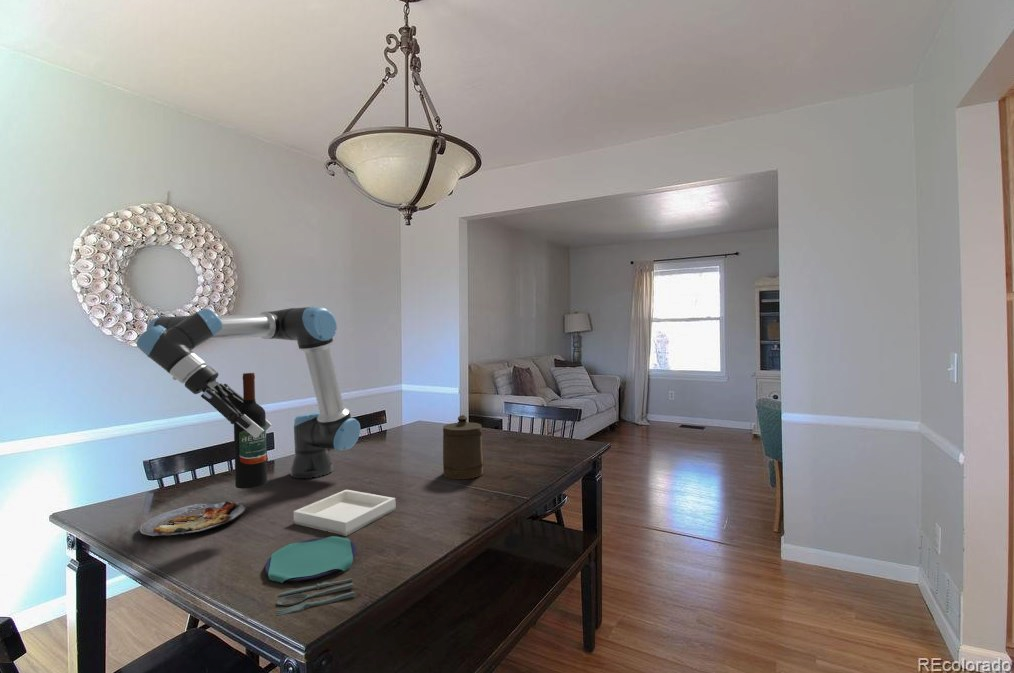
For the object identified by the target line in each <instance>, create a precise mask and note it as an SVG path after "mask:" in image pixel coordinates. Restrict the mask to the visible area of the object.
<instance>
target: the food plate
mask: <svg viewBox="0 0 1014 673" xmlns="http://www.w3.org/2000/svg"><path fill="white" fill-rule="evenodd" d="M211 507H213V508H211ZM201 508H206V509H205V512H204V513H203V514H201V515H202V516H199V514H196V515H194V514H193V515H190V516H180V517H177V518H176V519H172V520H170V521H168V522H169V523H174V522H187V521H194V520H197V519H199V518H200V517H204V519H210V520H202V521H196V522H188V523H182V524H174V525H171V524H170V525H169V524H165V525H160V526H159V527H157V528H155V527H156V526H157V525H158V524H160V523H161V522H165V520H167V519H170V518H173V517H175V516H178V515H181V514H183V513H184V512H186V513H188V512H187V511H188V510H197V509H201ZM214 508H220V509H218V510H216V509H214ZM246 510H247V507H246V506H245V504H244V503H242V502H237V501H228V500H226V501H225V500H224V501H215V502H214V501H213V502H212V501H211V502H204V503H203V502H202V503H195V504H190V505H185V506H183V507H179V508H176V509H173V510H169V511H165V512H163V513H161V514H157V515H155V516H153V517H151V518H149V519H148V520H146V521H145V522H144V523H142V524H141V525H140V527H139V532H140V534H142V535H146V536H150V537H151V536H152V537H156V536H169V537H170V536H173V535H181V534H182V535H184V536H185V534H191V533H196V532H197V533H198V532H204V531H208V530H212V529H213V528H217V527H219V526H222V525H225V524H227V523H229V522H232V521H234V520H236V518H238V517H240V516H241V515H242V514H243V513H245V511H246ZM190 512H192V511H190ZM228 515H229V516H228ZM151 527H152V528H151ZM154 528H155V529H154ZM153 529H154V530H153ZM172 529H176V530H172ZM152 530H153V532H151V531H152Z"/></svg>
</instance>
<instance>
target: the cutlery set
mask: <svg viewBox="0 0 1014 673" xmlns="http://www.w3.org/2000/svg"><path fill="white" fill-rule="evenodd" d="M356 553H357V546H356V545H355V542H352V541H351V540H350V539H349V538H347V537H341V536H335V535H331V536H328V537H317V538H312V539H311V538H310V539H307V540H302V541H298V542H293V543H288V544H287V545H285V546H282V547H281V548H280V549H278V550H276V551H274V552H272V553H271V557H269V558H268V560H267V562H266V563H265V565H264V568H265V572H266V574H267V576H268V579H269V580H271V582H272V581H273V582H278V583H280V584H283V583H284V582H286V581H287V582H300V581H301V582H302V581H307V580H313V579H316V578H321V577H323V576H327V575H330V574H333V573H334V572H336V571H338V570H341V571H343V572H346V571H348V570H349V569H350V568H351V566H352V565H353V560H354V558H355V557H356ZM344 582H350V583H347V584H342V585H339V586H335V587H332V588H331V587H330V588H329V589H325V590H322V591H319V592H315V593H313V594H306V593H302V592H306V591H310V590H315V589H316V590H319V589H321V588H322V589H323V588H325V587H328V586H330V585H335V584H338V583H344ZM353 584H354V583H353V577H350V578H346V579H342V580H336V581H331V582H326V581H325V582H324V581H323V582H322V583H318V582H317V583H316V585H311V586H305V587H299V588H295V589H291V590H287V591H283V592H280V593H278V595H277V596H278V597H282V598H280V599H279V600H276V604H277V605H279V606H285V607H287V606H290V607H287V608H283V609H278V610H276V611H275V616H277V617H278V616H281V615H286V614H291V613H297V612H302V611H304V610H305V609H309V608H310V607H313V606H321V605H326V604H330V603H334V602H339V601H342V600H345V599H351V598H355V591H350V592H347V593H342V594H340V595H337V596H334V597H330V598H327V599H322V600H315V601H311V602H310V601H309V600H307V599H310V598H313V597H317V596H321V595H325V594H328V593H333V592H337V591H342V590H347V589H353V588H354V585H353ZM283 596H284V597H283ZM294 598H302V599H301V600H299V601H296V602H293V603H284V602H285V601H287V600H290V599H294ZM306 600H307V601H306ZM305 601H306V602H305Z"/></svg>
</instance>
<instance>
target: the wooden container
mask: <svg viewBox="0 0 1014 673" xmlns="http://www.w3.org/2000/svg"><path fill="white" fill-rule="evenodd" d="M467 419H468V418H467V416H465V414H464V415H463V414H461V415H459V416H458V417H457V422H453V423H448V424H445V425H443V426H442V433H443V435H442V438H443V439H442V442H443V443H442V462H443V463H442V465H443V466H442V468H443V469H442V470H443V476H444V477H445V478H447V479H452V480H459V479H461V480H470V479H471V478H472V479H476V478H478V476H479V477H480V476H482V475H484V474H483V473H484V464H483V463H484V461H483V460H484V455H483V454H484V453H483V436H482V434H483V431H482V429H483V428H482V427H483V426H482V424H481V423H477V422H468V421H467ZM475 477H476V478H475Z"/></svg>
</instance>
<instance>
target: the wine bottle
mask: <svg viewBox="0 0 1014 673" xmlns="http://www.w3.org/2000/svg"><path fill="white" fill-rule="evenodd" d="M255 379H256V375H255V373H254V372H246V373H245V372H244V373H242V391H243V392H242V393H243V396H242V397H243V399H244V400H243V404H242V405H241V406H240V407H239V408H238V410H239V411H240V412H241V413H242V414H243V415H244V414H245V415H246V416H248V417H249V418H250V419H251V420H252V421H254V422H255V423H256V424H257V425H258V426H260V427H261V428H262V429H263V430H264V431H263V432H262V433H261V434H260V435H259V436H258V437H257V438H254V437H253V436H252V435H251V434H250V433H248V432H247V431H246V430H245V429H243V428H242V427H241V426H240V425H239V424H237V423H236V422H237V421H236V422H235V423H234V424H233V439H234V440H233V441H234V442H233V443H234V446H233V447H234V475H235V479H234V481H235V485H234V486H235V488H237V489H243V490H244V489H252V488H258V487H261V486H264V485H265V484H267V483H268V463H267V462H268V461H267V459H268V458H267V456H268V455H267V430H266V420H267V418H266V411H265V409H264V408H263V407H262V406H261V405H259V404H258V403H257V401H256V389H255V388H256V383H255ZM243 415H242V416H243Z"/></svg>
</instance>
